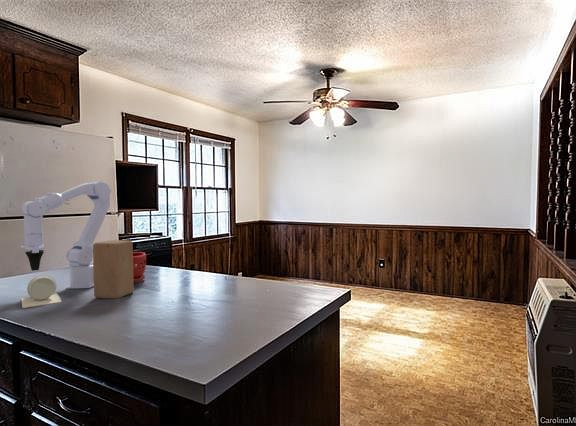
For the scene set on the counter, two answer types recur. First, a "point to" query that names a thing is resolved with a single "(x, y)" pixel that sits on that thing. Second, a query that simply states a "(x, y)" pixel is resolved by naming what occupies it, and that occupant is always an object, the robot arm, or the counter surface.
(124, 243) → the wooden block
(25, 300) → the mat
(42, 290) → the coffee cup
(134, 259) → the plant pot
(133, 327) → the counter surface
